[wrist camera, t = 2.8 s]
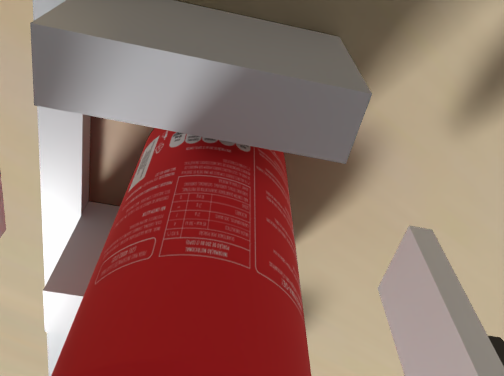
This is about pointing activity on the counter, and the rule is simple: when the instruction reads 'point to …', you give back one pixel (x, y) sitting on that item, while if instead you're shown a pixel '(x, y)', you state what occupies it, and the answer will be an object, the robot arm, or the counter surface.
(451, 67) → the counter surface
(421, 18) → the counter surface
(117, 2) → the grey blue slotted rack
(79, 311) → the beverage can
